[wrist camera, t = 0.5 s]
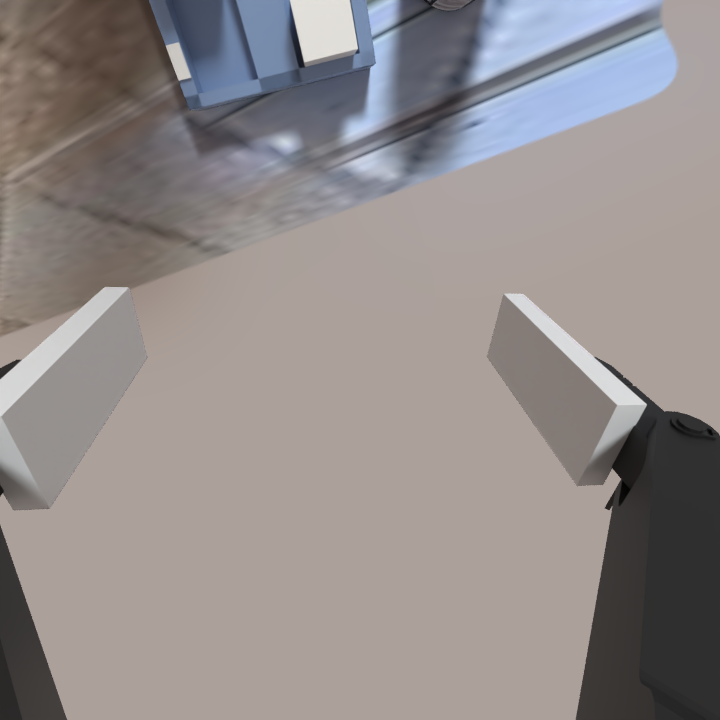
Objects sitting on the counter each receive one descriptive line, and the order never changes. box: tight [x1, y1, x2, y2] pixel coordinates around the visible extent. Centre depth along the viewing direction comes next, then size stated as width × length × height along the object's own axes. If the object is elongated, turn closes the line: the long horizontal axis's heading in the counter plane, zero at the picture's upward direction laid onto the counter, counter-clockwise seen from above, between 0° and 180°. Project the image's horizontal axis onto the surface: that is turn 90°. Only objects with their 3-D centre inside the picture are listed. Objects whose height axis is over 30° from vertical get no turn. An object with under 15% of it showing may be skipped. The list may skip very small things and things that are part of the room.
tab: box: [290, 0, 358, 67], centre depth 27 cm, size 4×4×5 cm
